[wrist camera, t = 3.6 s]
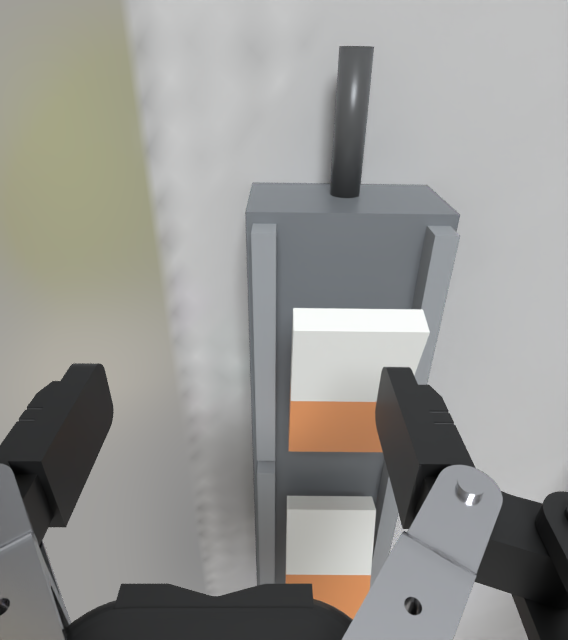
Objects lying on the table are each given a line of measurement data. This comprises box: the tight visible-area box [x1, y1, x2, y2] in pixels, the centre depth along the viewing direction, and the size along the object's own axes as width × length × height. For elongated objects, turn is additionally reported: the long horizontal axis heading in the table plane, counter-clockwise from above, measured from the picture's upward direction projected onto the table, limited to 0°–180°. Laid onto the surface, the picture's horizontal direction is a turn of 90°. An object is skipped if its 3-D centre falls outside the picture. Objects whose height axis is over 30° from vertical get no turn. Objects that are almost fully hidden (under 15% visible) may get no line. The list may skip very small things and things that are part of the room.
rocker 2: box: [285, 496, 376, 619], centre depth 27 cm, size 9×5×1 cm, turn 179°
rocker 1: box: [288, 308, 430, 452], centre depth 20 cm, size 9×5×1 cm, turn 179°
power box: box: [245, 46, 460, 588], centre depth 26 cm, size 34×9×6 cm, turn 179°
